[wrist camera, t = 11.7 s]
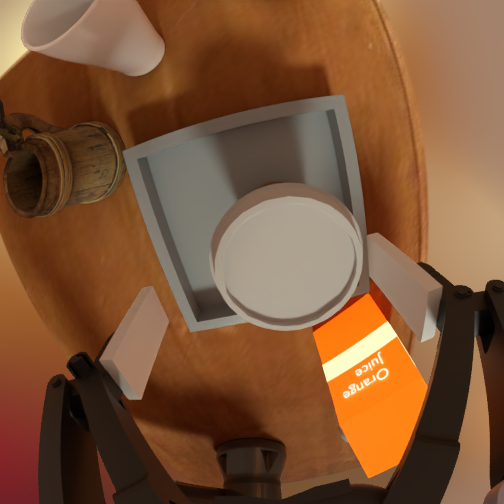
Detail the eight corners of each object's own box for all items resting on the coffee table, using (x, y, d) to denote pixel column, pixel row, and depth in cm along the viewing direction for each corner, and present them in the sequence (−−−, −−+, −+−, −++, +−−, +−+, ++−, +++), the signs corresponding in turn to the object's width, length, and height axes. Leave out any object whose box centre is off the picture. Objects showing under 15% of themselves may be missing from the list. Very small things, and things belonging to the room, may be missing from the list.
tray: (358, 276, 30) (369, 292, 27) (195, 313, 32) (190, 332, 29) (331, 99, 23) (343, 94, 20) (136, 149, 24) (122, 151, 21)
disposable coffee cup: (253, 147, 24) (250, 154, 13) (342, 193, 25) (398, 236, 14) (212, 235, 27) (183, 302, 16) (296, 272, 29) (315, 352, 18)
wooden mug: (96, 74, 21) (-30, 45, 4) (139, 179, 26) (14, 243, 9) (43, 118, 22) (-77, 134, 5) (80, 214, 27) (-31, 291, 10)
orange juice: (390, 325, 34) (455, 438, 15) (340, 359, 36) (379, 481, 18) (367, 291, 31) (447, 422, 13) (311, 331, 34) (350, 475, 15)
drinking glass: (166, 84, 22) (86, 39, 8) (107, 85, 21) (8, 62, 8) (179, 26, 19) (125, -51, 5) (121, 30, 19) (40, -22, 5)
